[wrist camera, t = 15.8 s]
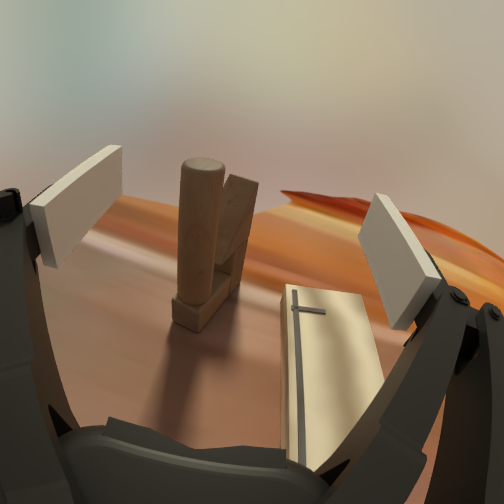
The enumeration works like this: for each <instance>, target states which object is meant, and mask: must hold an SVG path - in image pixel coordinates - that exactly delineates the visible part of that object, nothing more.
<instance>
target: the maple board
mask: <svg viewBox="0 0 504 504" xmlns="http://www.w3.org/2000/svg"><path fill="white" fill-rule="evenodd" d="M280 304H281V449H287V450H286V459H290V460H292V461H295V462H297V463H300V464H302V465H304V466H305V467H307V468H309V469H311V470H312V471H315V470H317V469H318V468H319V467H320V466H321V465H322V464H323V463H324V462H325V461H326V460H327V459H328V458H329V457H330V456H331V455H332V454H333V453H334V452H335V450H336V449H337V448H338V447H339V445H340V444H341V443H342V442H343V440H344V439H345V438H346V436H347V435H348V434H349V433H350V431H351V430H352V429H353V427H354V426H355V425H356V423H357V422H358V420H359V419H360V418H361V416H362V415H363V413H364V412H365V411H366V409H367V408H368V406H369V405H370V403H371V402H372V400H373V399H374V397H375V396H376V394H377V393H378V391H379V390H380V388H381V387H382V385H383V383H384V377H383V373H382V369H381V365H380V361H379V357H378V353H377V349H376V345H375V341H374V338H373V334H372V330H371V327H370V323H369V320H368V316H367V313H366V309H365V306H364V303H363V299H362V296H361V295H359V294H352V293H344V292H337V291H330V290H323V289H316V288H309V287H302V286H296V285H289V284H286V285H285V288H284V292H283V295H282V298H281V301H280ZM404 504H405V503H404Z"/></svg>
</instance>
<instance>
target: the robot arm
mask: <svg viewBox="0 0 504 504" xmlns="http://www.w3.org/2000/svg"><path fill="white" fill-rule="evenodd" d="M121 194H122V146H117V145H108V146H107V147H105V148H104V149H102V150H101V151H99V152H98V153H97V154H95V155H93V156H92V157H91V158H89V159H87V160H86V161H84V162H83V163H82V164H80V165H79V166H77V167H76V168H75V169H73V170H72V171H71V172H69V173H68V174H66V175H65V176H64V177H62V178H61V179H60V180H58V181H57V182H56V183H54V184H52V185H50V186H48V187H47V188H46V189H45V190H43V191H42V192H41V193H40V194H38V195H37V197H35V198H33V199H32V200H31V201H30V202H29V203H27V204H26V205H25V206H24V207H22V202H21V197H20V192H19V190H18V189H16V188H9V189H5V190H2V191H0V504H404V503H405V502H406V500H407V498H408V497H409V495H410V493H411V491H412V490H413V488H414V486H415V484H416V482H417V480H418V479H419V477H420V475H421V473H422V471H423V469H424V467H425V464H426V461H427V455H425V454H424V453H422V448H423V446H424V444H425V441H426V439H427V437H428V435H429V433H430V431H431V428H432V426H433V424H434V421H435V419H436V417H437V414H438V412H439V409H440V407H441V404H442V402H443V399H444V396H445V394H446V398H445V407H444V414H443V422H442V428H441V434H440V440H439V445H438V450H437V455H436V460H435V464H434V469H433V473H432V477H431V481H430V485H429V488H428V492H427V495H426V499H425V502H424V504H504V317H503V315H502V313H501V311H500V309H498V307H496V306H494V305H493V304H491V303H484V304H483V306H482V307H481V309H480V310H477V309H474V308H472V307H470V302H469V300H468V298H467V296H466V295H465V294H464V293H463V292H462V291H461V290H460V289H458V288H456V287H454V286H449V285H448V283H447V282H446V280H445V278H444V276H443V275H442V273H441V271H440V270H439V269H438V266H437V265H436V263H435V261H434V260H433V258H432V256H431V255H430V254H429V253H428V252H427V251H426V250H425V249H424V248H423V247H422V245H421V244H420V242H419V241H418V239H417V238H416V236H415V235H414V233H413V232H412V230H411V229H410V227H409V226H408V224H407V223H406V221H405V220H404V218H403V217H402V215H401V214H400V212H399V211H398V210H397V208H396V207H395V205H394V204H393V203H392V201H391V200H390V198H389V197H388V196H385V195H382V194H379V193H375V195H374V197H373V200H372V202H371V205H370V207H369V210H368V212H367V215H366V217H365V220H364V222H363V225H362V227H361V230H360V232H359V235H358V238H359V241H360V243H361V246H362V248H363V251H364V253H365V256H366V259H367V261H368V264H369V266H370V269H371V272H372V274H373V277H374V280H375V283H376V285H377V288H378V291H379V294H380V297H381V300H382V302H383V305H384V308H385V311H386V314H387V317H388V321H389V324H390V327H391V329H394V330H405V331H407V329H408V328H409V327H410V325H411V324H412V322H413V321H414V320H415V323H416V326H417V328H416V330H415V331H414V332H413V333H412V335H411V336H410V337H409V339H408V340H407V341H406V342H405V344H404V345H403V346H404V347H405V348H404V350H403V352H402V353H401V355H400V357H399V359H398V360H397V362H396V364H395V366H394V367H393V369H392V371H391V372H390V374H389V375H388V377H387V379H386V380H385V382H384V383H383V385H382V387H381V388H380V390H379V391H378V393H377V394H376V396H375V397H374V399H373V400H372V402H371V403H370V405H369V406H368V408H367V409H366V411H365V412H364V413H363V415H362V416H361V418H360V419H359V420H358V422H357V423H356V425H355V426H354V427H353V429H352V430H351V431H350V433H349V434H348V435H347V436H346V438H345V439H344V440H343V442H342V443H341V444H340V445H339V447H338V448H337V449H336V450H335V452H334V453H333V454H332V455H331V456H330V457H329V458H328V459H327V460H326V461H325V462H324V463H323V464H322V465H321V466H320V467H319V468H318V469H317V470H315V471H312V470H311V469H309V468H307V467H305V466H304V465H302V464H300V463H297V462H295V461H292V460H290V459H286V450H287V449H276V448H263V447H252V446H234V447H224V448H211V449H193V448H190V447H187V446H185V445H183V444H181V443H178V442H176V441H174V440H172V439H170V438H168V437H166V436H164V435H162V434H160V433H158V432H156V431H154V430H152V429H150V428H146V427H142V426H139V425H135V424H132V423H128V422H125V421H122V420H118V419H115V418H112V417H109V418H108V421H107V424H106V426H104V425H98V426H87V427H82V428H80V426H79V424H78V422H77V421H76V419H75V417H74V415H73V413H72V411H71V409H70V406H69V404H68V401H67V398H66V395H65V392H64V389H63V386H62V382H61V379H60V376H59V372H58V369H57V365H56V362H55V358H54V354H53V350H52V346H51V342H50V337H49V333H48V328H47V323H46V318H45V313H44V308H43V302H42V296H41V289H40V282H39V274H38V266H37V263H36V258H37V257H38V255H39V254H40V253H41V257H42V260H43V264H44V265H45V266H49V267H52V268H56V269H58V268H59V267H60V266H61V265H62V263H63V262H64V261H65V259H66V258H67V257H68V256H69V254H70V253H71V252H72V251H73V249H74V248H75V247H76V246H77V244H78V243H79V242H80V241H81V240H82V238H83V237H84V236H85V235H86V234H87V232H88V231H89V230H90V229H91V228H92V227H93V225H94V224H95V223H96V222H97V221H98V220H99V219H100V217H101V216H102V215H103V214H104V213H105V212H106V211H107V210H108V208H109V207H110V206H111V205H112V204H113V203H114V202H115V201H116V200H117V199H118V198H119V197H120V196H121Z"/></svg>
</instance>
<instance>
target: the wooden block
mask: <svg viewBox="0 0 504 504" xmlns="http://www.w3.org/2000/svg"><path fill="white" fill-rule="evenodd" d="M224 174H225V166H224V164H223V163H221V162H220V161H217V160H214V159H210V158H191V159H188V160H186V161H184V162H183V164H182V166H181V181H180V199H179V222H178V266H177V292H178V293H177V294H176V295H175V296H174V297H173V298H172V319H173V321H175V322H177V323H178V324H180V325H182V326H184V327H186V328H188V329H190V330H192V331H194V332H196V333H199V332H200V331H201V330H202V328H203V327H204V326H205V325H206V323H207V322H208V321H209V320H210V318H211V317H212V316H213V315H214V313H215V312H216V311H217V310H218V309H219V307H220V306H221V305H222V304H223V302H224V301H225V300H226V299H227V297H228V296H229V295H230V294H231V293H232V291H233V290H234V289H235V288H236V286H237V285H238V284H239V283H240V281H241V275H242V270H243V264H244V259H245V253H246V247H247V242H248V237H249V234H250V229H251V223H252V218H253V212H254V206H255V201H256V195H257V190H258V184H259V183H258V182H256V181H253V180H250V179H247V178H244V177H240V176H237V175H234V174H230V175H229V177H228V179H227V181H226V183H225V185H224V187H223V183H224Z"/></svg>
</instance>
